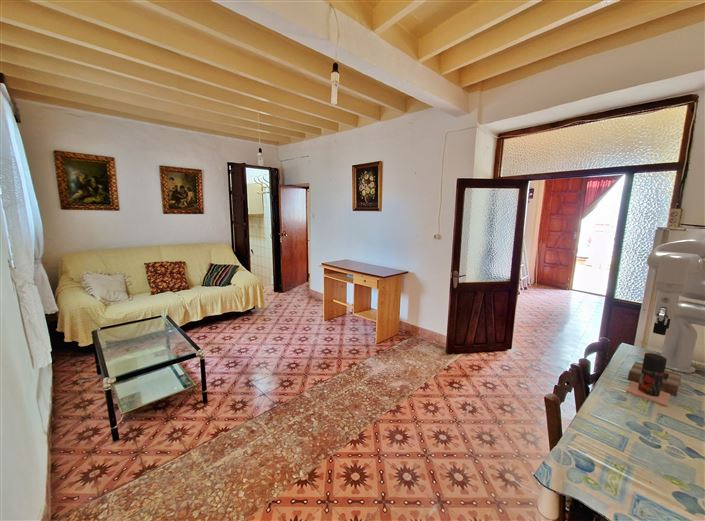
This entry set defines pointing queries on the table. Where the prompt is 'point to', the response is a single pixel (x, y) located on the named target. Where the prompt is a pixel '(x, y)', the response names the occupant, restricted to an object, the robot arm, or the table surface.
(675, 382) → the holder block
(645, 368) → the deodorant
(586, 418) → the table surface
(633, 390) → the tile
